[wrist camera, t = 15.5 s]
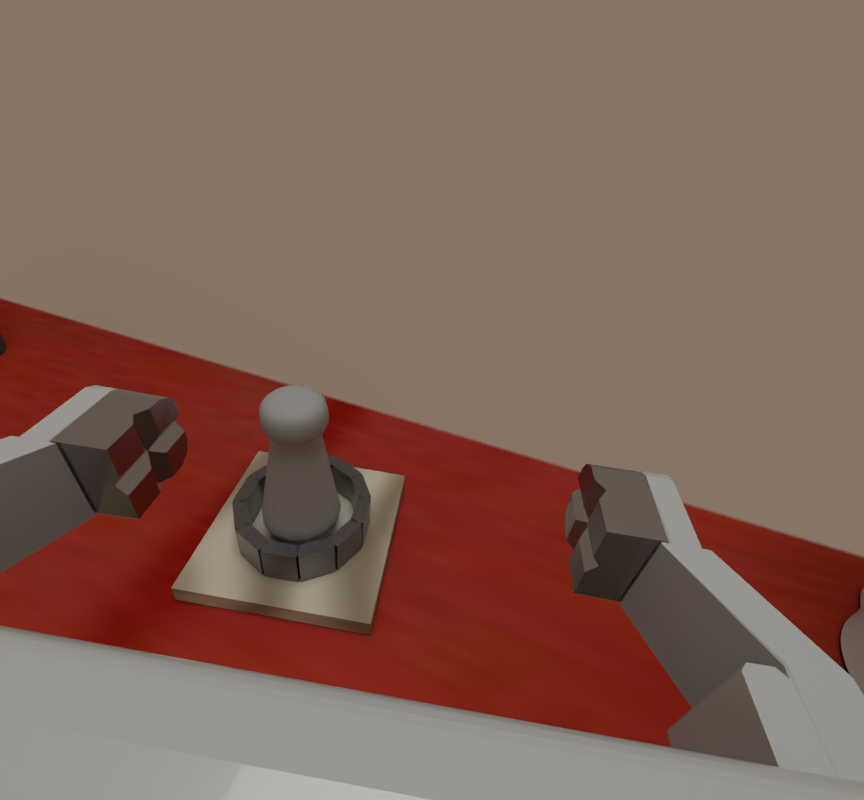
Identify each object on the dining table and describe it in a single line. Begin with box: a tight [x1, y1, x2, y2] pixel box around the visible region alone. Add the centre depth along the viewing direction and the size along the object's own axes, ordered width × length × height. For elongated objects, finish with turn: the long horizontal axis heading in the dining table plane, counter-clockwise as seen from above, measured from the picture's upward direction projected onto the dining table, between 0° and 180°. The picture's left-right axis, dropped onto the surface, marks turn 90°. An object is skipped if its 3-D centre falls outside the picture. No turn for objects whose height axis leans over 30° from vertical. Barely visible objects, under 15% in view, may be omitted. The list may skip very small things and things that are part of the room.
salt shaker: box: [259, 385, 341, 545], centre depth 32 cm, size 6×6×13 cm
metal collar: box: [232, 456, 371, 583], centre depth 35 cm, size 10×10×3 cm
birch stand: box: [171, 451, 405, 635], centre depth 37 cm, size 14×14×2 cm
